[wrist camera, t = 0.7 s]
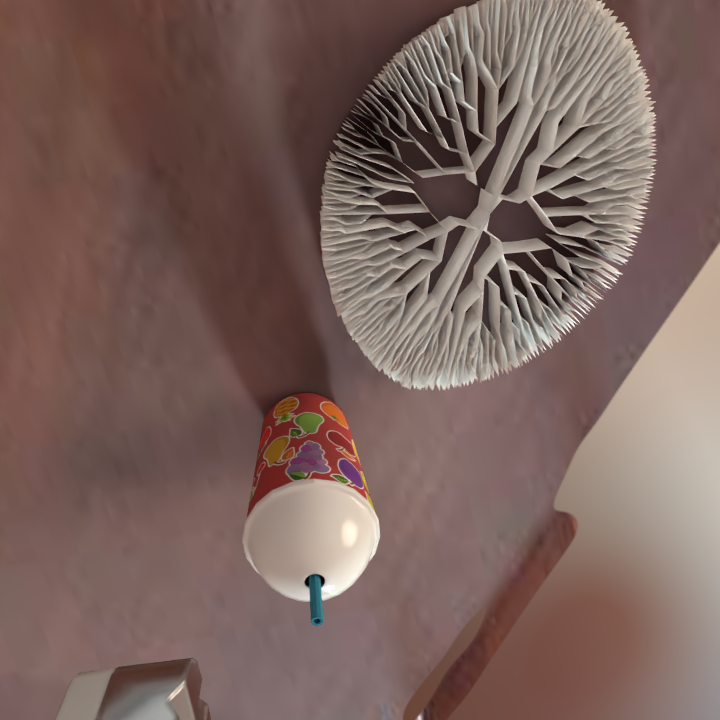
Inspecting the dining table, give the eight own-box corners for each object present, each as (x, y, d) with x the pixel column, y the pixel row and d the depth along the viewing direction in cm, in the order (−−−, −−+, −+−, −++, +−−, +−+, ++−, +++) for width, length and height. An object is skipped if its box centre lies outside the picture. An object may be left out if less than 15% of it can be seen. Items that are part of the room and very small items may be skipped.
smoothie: (262, 472, 52) (251, 688, 34) (243, 385, 48) (220, 575, 30) (361, 457, 52) (402, 662, 34) (349, 369, 49) (389, 546, 31)
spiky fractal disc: (714, 70, 42) (741, 70, 40) (521, 411, 52) (533, 429, 50) (415, -90, 36) (425, -101, 34) (263, 329, 46) (262, 344, 44)
